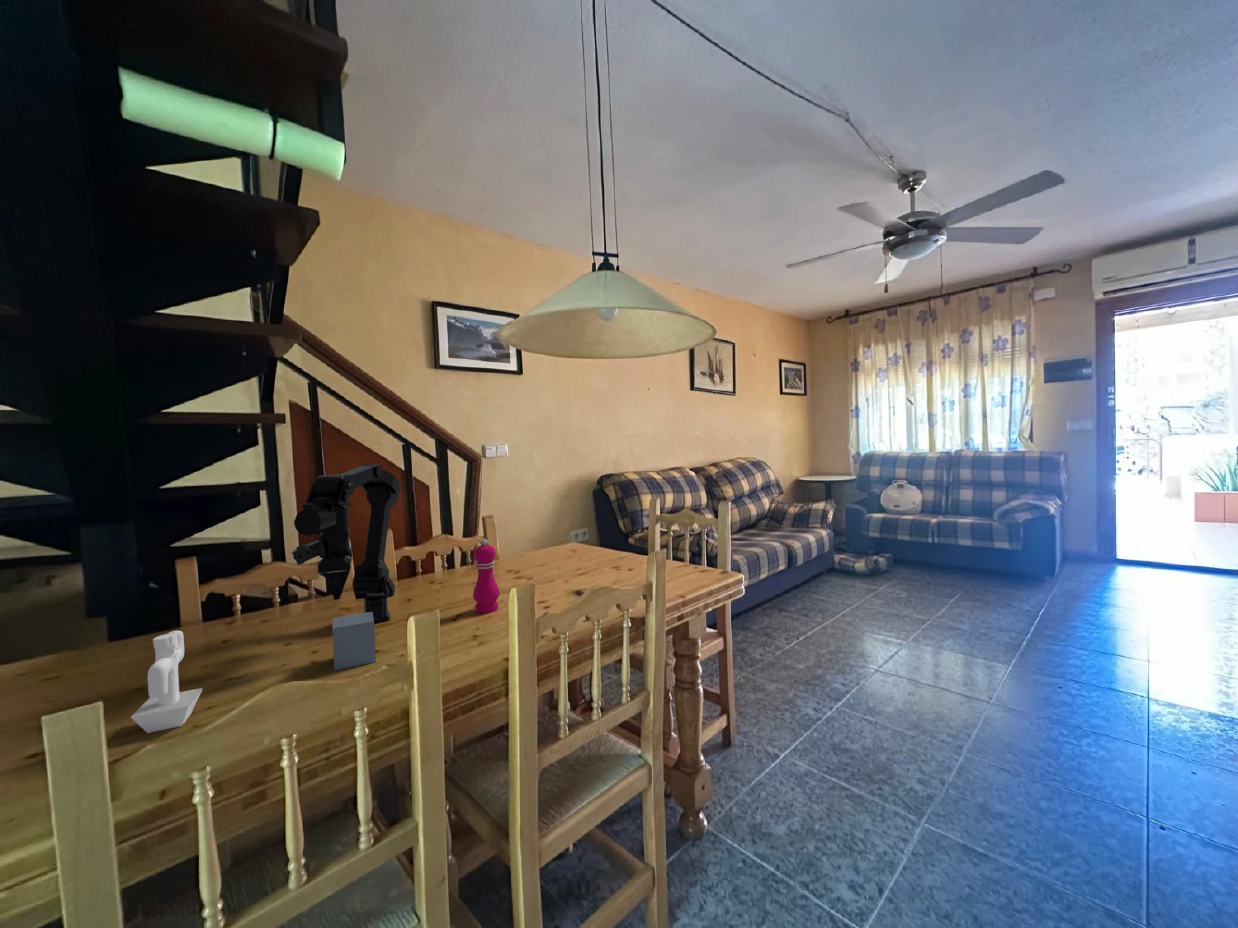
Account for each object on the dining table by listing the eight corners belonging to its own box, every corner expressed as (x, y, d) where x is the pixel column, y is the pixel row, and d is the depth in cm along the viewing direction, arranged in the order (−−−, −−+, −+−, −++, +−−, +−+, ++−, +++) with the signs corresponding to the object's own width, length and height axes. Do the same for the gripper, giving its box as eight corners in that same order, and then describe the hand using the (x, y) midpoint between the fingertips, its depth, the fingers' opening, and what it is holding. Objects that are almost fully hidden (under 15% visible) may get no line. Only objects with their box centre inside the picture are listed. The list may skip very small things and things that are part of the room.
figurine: (128, 743, 78) (123, 648, 77) (153, 715, 86) (149, 630, 86) (187, 731, 81) (182, 640, 80) (206, 705, 89) (201, 622, 89)
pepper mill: (493, 614, 136) (490, 541, 135) (468, 613, 137) (466, 541, 137) (504, 606, 143) (501, 537, 142) (481, 605, 144) (478, 537, 144)
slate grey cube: (335, 657, 109) (333, 617, 109) (374, 649, 113) (372, 611, 113) (334, 670, 102) (332, 628, 102) (375, 661, 106) (373, 621, 106)
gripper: (298, 526, 121) (302, 590, 121) (288, 537, 104) (291, 611, 104) (350, 522, 126) (353, 583, 126) (348, 532, 109) (351, 602, 109)
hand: (337, 594), depth 116 cm, fingers open, 9 cm apart
